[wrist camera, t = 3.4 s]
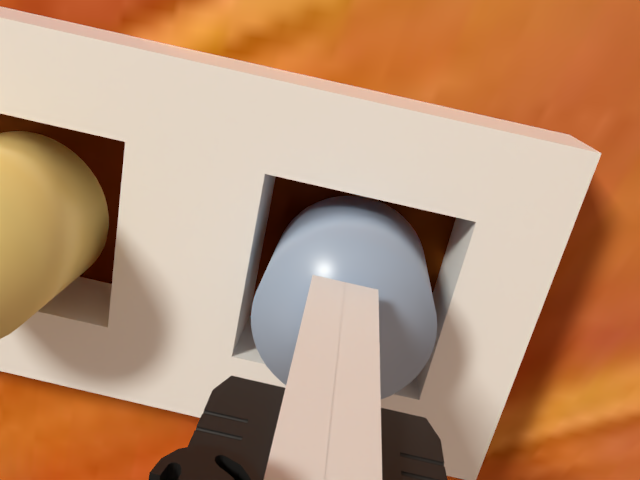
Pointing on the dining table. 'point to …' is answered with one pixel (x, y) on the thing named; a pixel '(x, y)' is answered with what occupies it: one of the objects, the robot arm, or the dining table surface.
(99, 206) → the mustard button
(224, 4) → the dining table surface
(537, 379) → the dining table surface
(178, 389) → the panel
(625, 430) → the dining table surface
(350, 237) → the blue button
